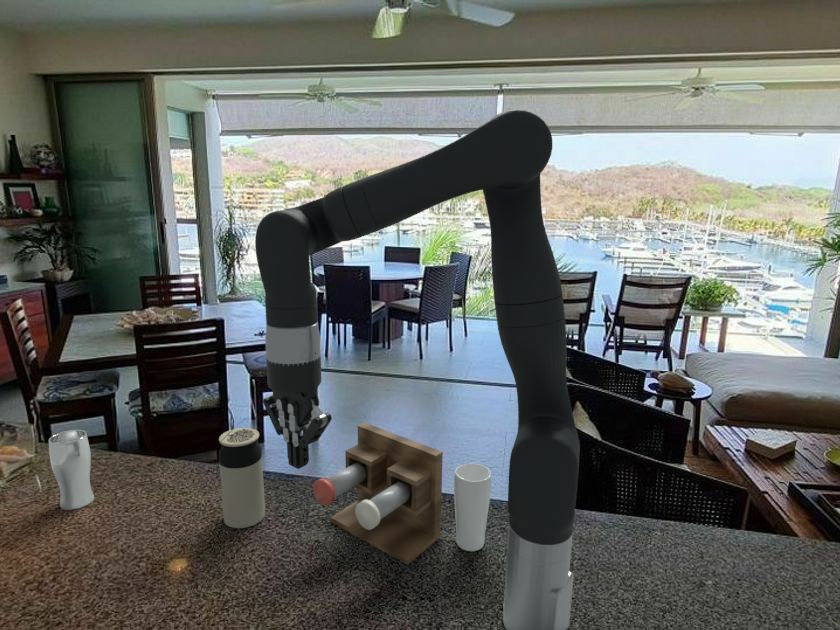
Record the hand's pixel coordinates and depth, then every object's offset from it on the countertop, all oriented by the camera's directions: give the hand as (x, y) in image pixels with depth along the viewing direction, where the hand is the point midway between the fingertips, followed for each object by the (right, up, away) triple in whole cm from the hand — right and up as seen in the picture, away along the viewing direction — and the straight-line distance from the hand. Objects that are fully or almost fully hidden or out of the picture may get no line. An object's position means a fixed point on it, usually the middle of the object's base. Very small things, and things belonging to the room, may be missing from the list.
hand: (298, 464), depth 79 cm
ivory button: (+12, -13, +16) cm, 24 cm away
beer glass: (-54, -17, +33) cm, 66 cm away
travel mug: (-17, -19, +29) cm, 39 cm away
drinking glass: (+28, -21, +22) cm, 41 cm away
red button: (+3, -12, +22) cm, 25 cm away
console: (+11, -20, +25) cm, 34 cm away
